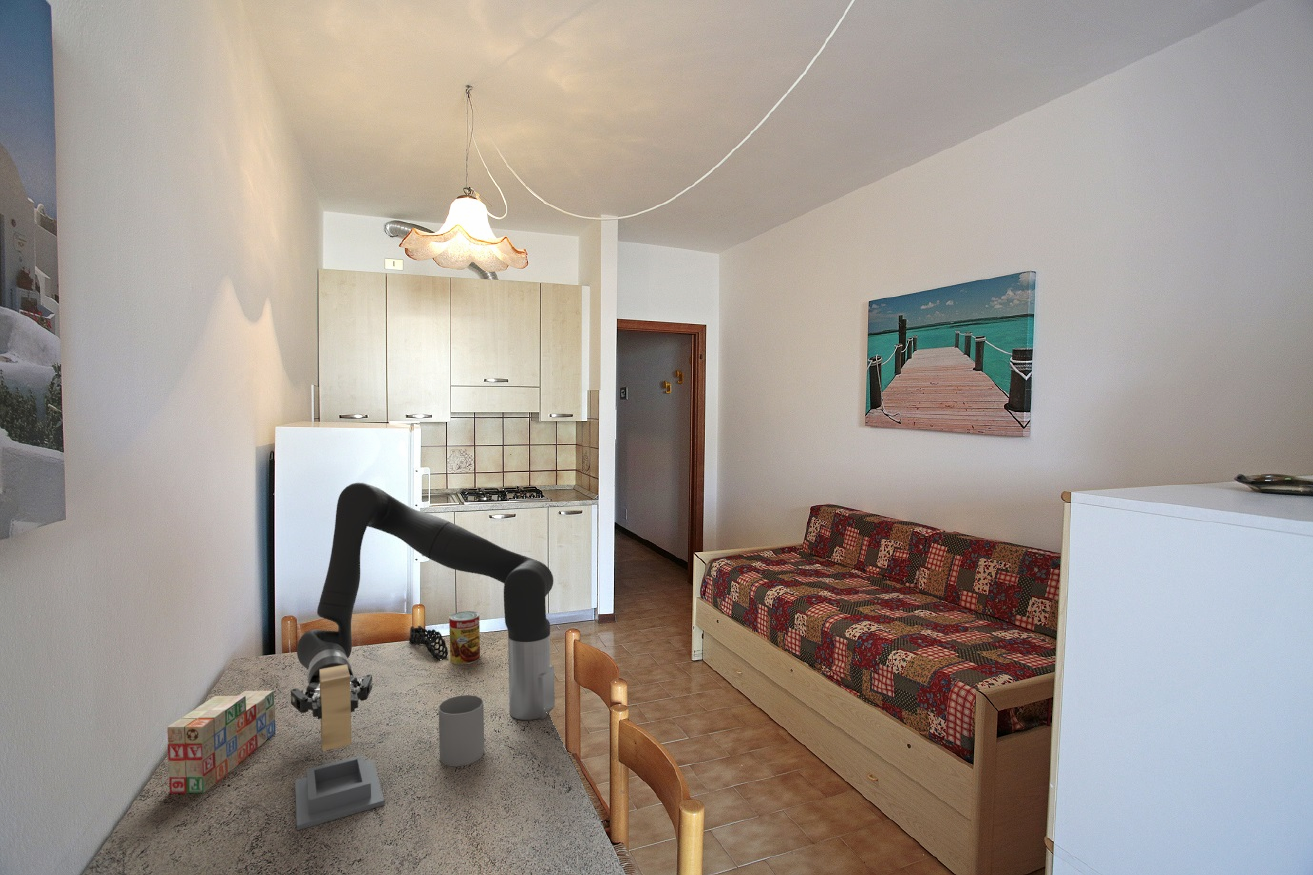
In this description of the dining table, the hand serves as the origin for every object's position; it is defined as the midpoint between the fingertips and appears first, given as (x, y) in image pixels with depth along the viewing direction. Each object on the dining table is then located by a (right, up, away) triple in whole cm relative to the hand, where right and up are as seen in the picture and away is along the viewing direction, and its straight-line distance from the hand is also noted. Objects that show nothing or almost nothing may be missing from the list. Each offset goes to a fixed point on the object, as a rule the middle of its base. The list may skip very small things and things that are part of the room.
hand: (336, 709), depth 109 cm
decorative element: (-10, -14, +73) cm, 75 cm away
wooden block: (-1, -6, +3) cm, 7 cm away
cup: (+17, -16, +16) cm, 28 cm away
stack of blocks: (-28, -16, +14) cm, 36 cm away
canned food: (+3, -14, +65) cm, 66 cm away
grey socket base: (-1, -16, +3) cm, 16 cm away
